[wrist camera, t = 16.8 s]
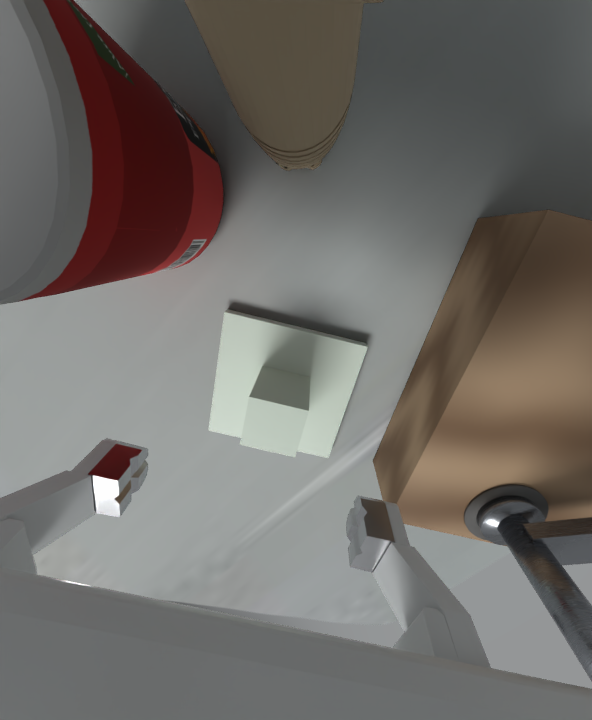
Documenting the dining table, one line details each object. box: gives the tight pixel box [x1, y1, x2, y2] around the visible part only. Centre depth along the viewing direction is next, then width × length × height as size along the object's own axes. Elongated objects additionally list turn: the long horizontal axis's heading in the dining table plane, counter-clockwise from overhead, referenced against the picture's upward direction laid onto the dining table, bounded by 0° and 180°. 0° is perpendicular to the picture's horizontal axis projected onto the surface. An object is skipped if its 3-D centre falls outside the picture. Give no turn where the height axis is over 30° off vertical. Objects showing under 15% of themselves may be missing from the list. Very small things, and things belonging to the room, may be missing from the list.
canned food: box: [0, 0, 223, 304], centre depth 11 cm, size 8×8×11 cm
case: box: [373, 210, 592, 546], centre depth 16 cm, size 17×12×5 cm
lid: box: [209, 309, 368, 458], centre depth 18 cm, size 9×9×5 cm
